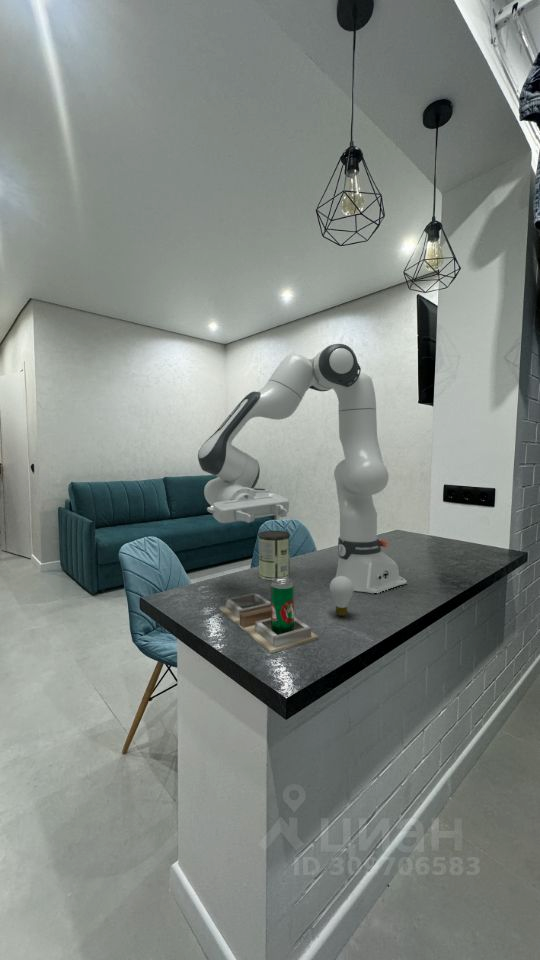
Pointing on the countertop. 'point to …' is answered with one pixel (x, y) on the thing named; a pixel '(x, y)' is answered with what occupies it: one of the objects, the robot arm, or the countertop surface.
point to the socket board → (264, 623)
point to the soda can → (282, 605)
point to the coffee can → (274, 555)
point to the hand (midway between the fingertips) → (268, 516)
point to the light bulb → (341, 593)
